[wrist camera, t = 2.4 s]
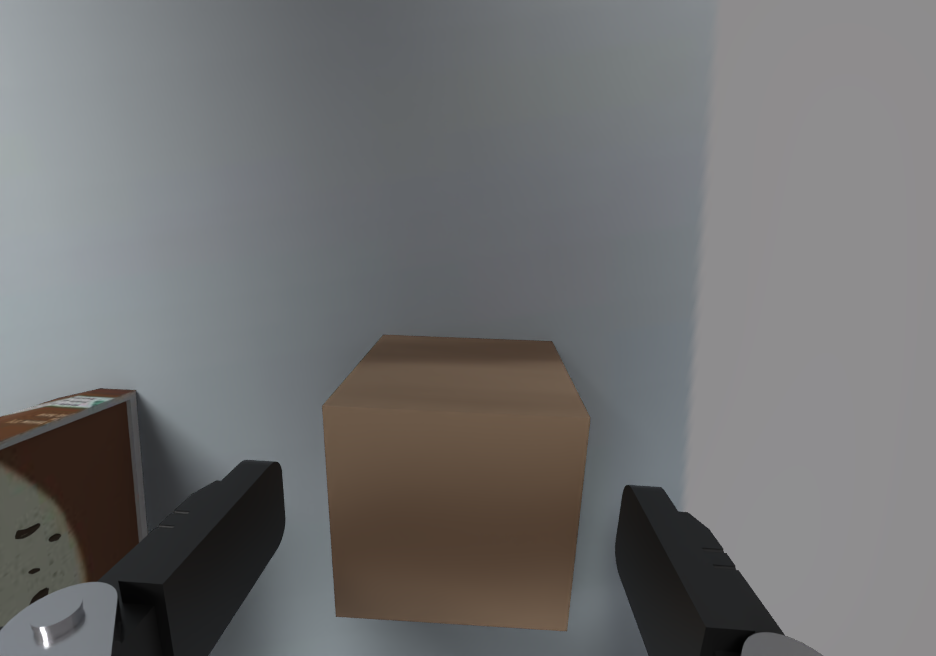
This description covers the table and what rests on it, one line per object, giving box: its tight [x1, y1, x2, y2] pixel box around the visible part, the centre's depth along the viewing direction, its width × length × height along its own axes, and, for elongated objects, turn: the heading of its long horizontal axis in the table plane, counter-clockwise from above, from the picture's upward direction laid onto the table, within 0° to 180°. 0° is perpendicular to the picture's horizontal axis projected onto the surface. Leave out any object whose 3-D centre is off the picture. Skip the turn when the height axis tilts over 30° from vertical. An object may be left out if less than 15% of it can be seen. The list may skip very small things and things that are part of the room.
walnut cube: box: [322, 335, 590, 631], centre depth 11 cm, size 5×5×5 cm
